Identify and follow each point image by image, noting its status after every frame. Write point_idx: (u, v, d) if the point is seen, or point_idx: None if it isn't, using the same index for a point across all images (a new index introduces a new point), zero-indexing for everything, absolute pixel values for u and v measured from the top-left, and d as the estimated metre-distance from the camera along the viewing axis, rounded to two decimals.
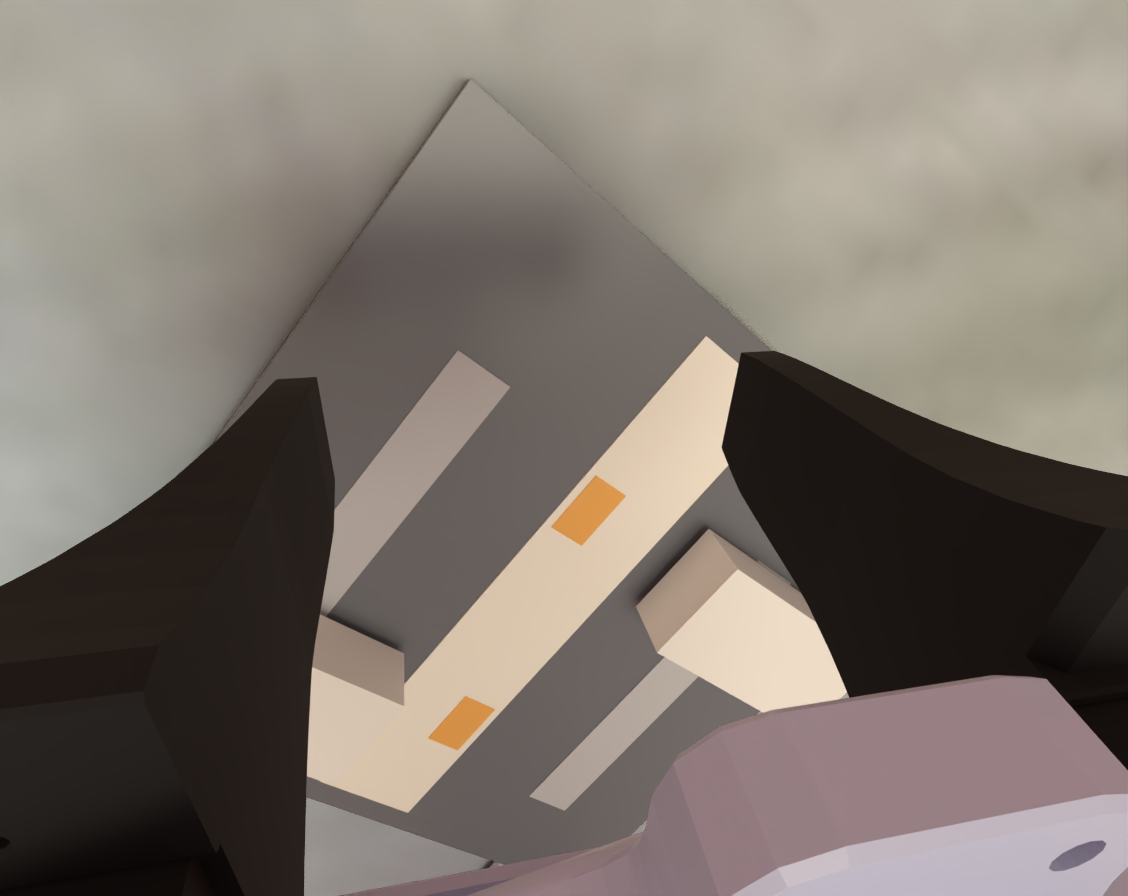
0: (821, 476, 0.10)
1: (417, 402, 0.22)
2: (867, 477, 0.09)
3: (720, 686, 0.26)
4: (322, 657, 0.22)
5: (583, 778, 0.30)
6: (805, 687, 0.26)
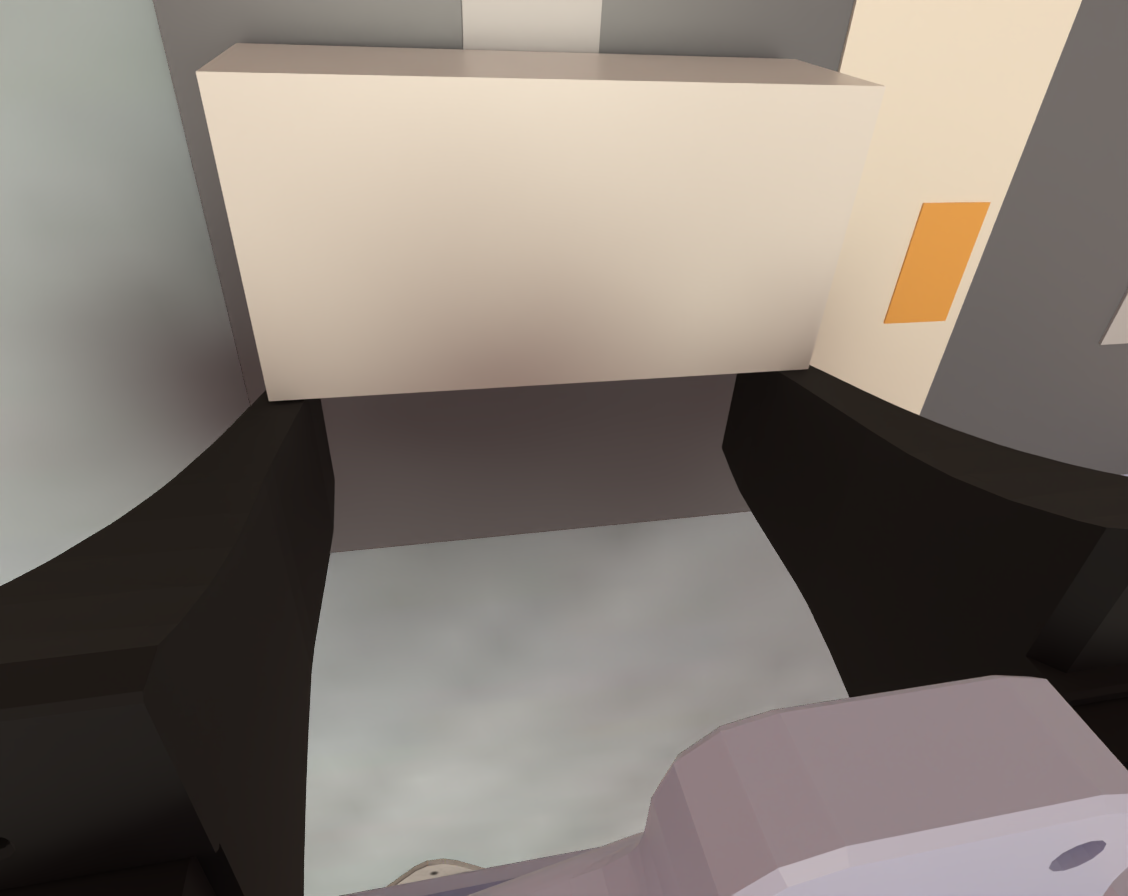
0: (821, 476, 0.10)
1: None
2: (867, 477, 0.09)
3: None
4: (639, 73, 0.09)
5: None
6: None
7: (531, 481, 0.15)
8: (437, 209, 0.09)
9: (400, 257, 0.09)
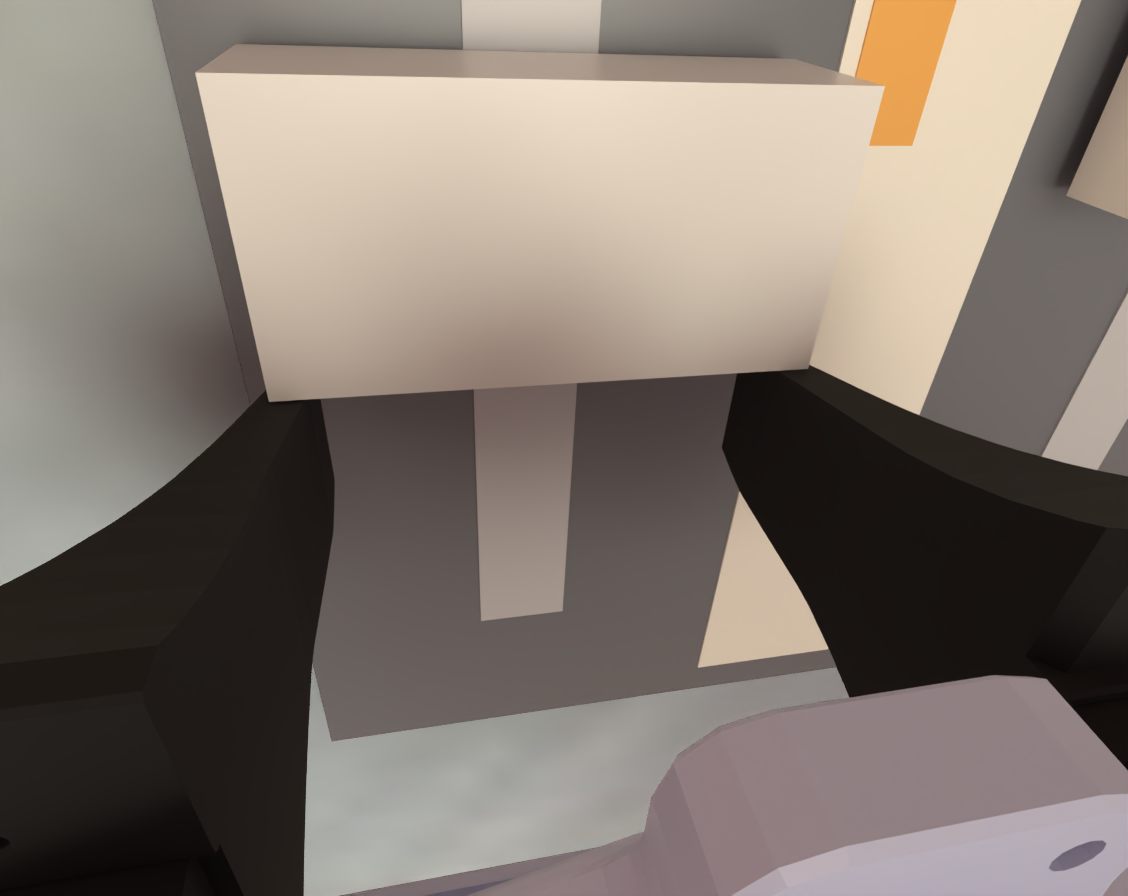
0: (821, 476, 0.10)
1: None
2: (867, 477, 0.09)
3: None
4: (638, 74, 0.09)
5: None
6: None
7: (526, 679, 0.19)
8: (436, 209, 0.09)
9: (400, 258, 0.09)
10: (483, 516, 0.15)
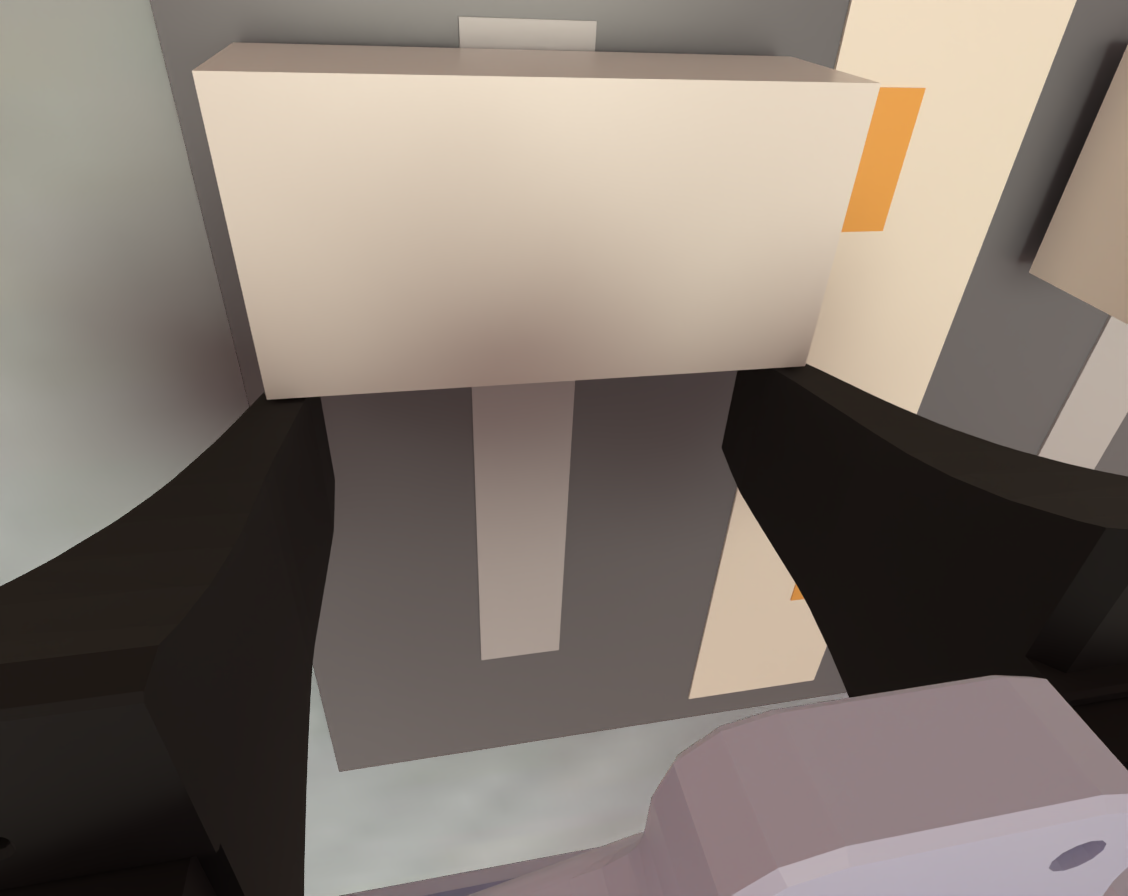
0: (821, 476, 0.10)
1: None
2: (867, 477, 0.09)
3: None
4: (634, 71, 0.09)
5: None
6: None
7: (525, 712, 0.20)
8: (433, 206, 0.09)
9: (396, 255, 0.09)
10: (483, 566, 0.16)
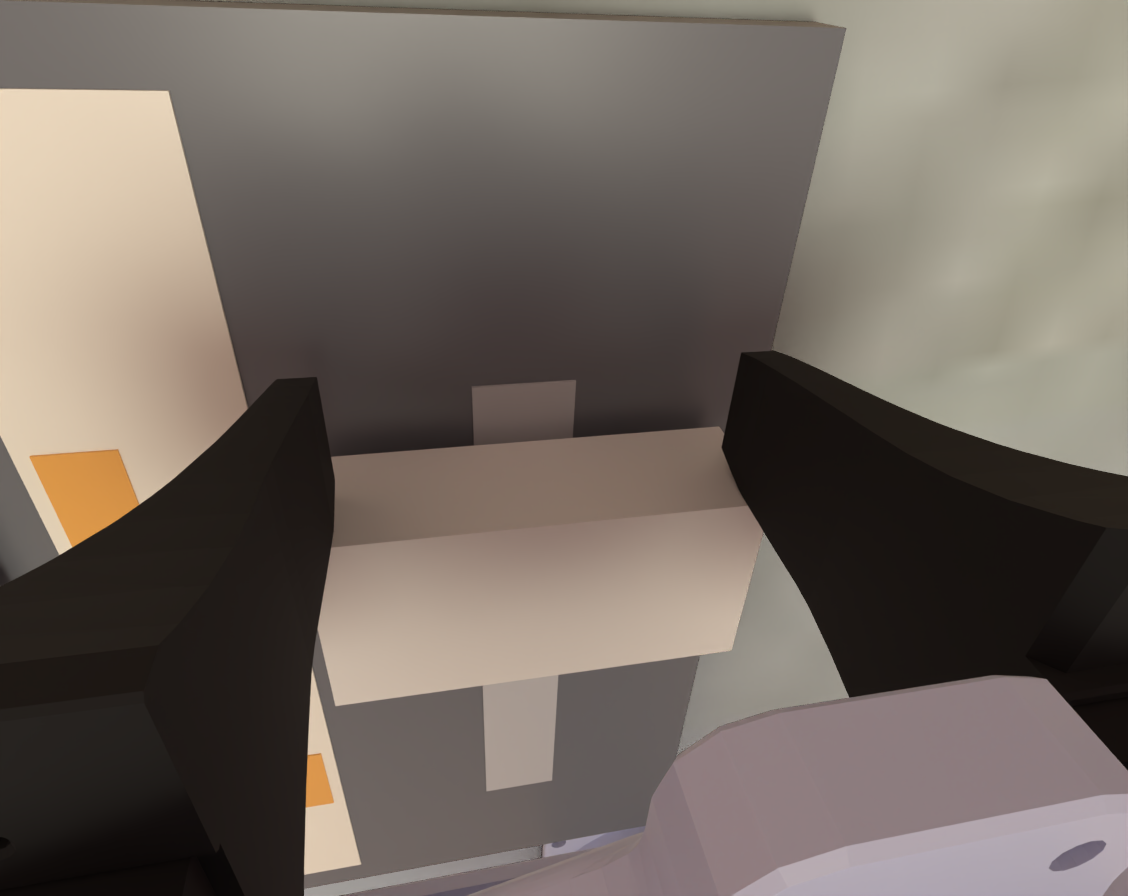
0: (821, 476, 0.10)
1: None
2: (867, 477, 0.09)
3: (502, 680, 0.14)
4: None
5: (537, 746, 0.21)
6: (661, 604, 0.14)
7: None
8: None
9: None
10: None
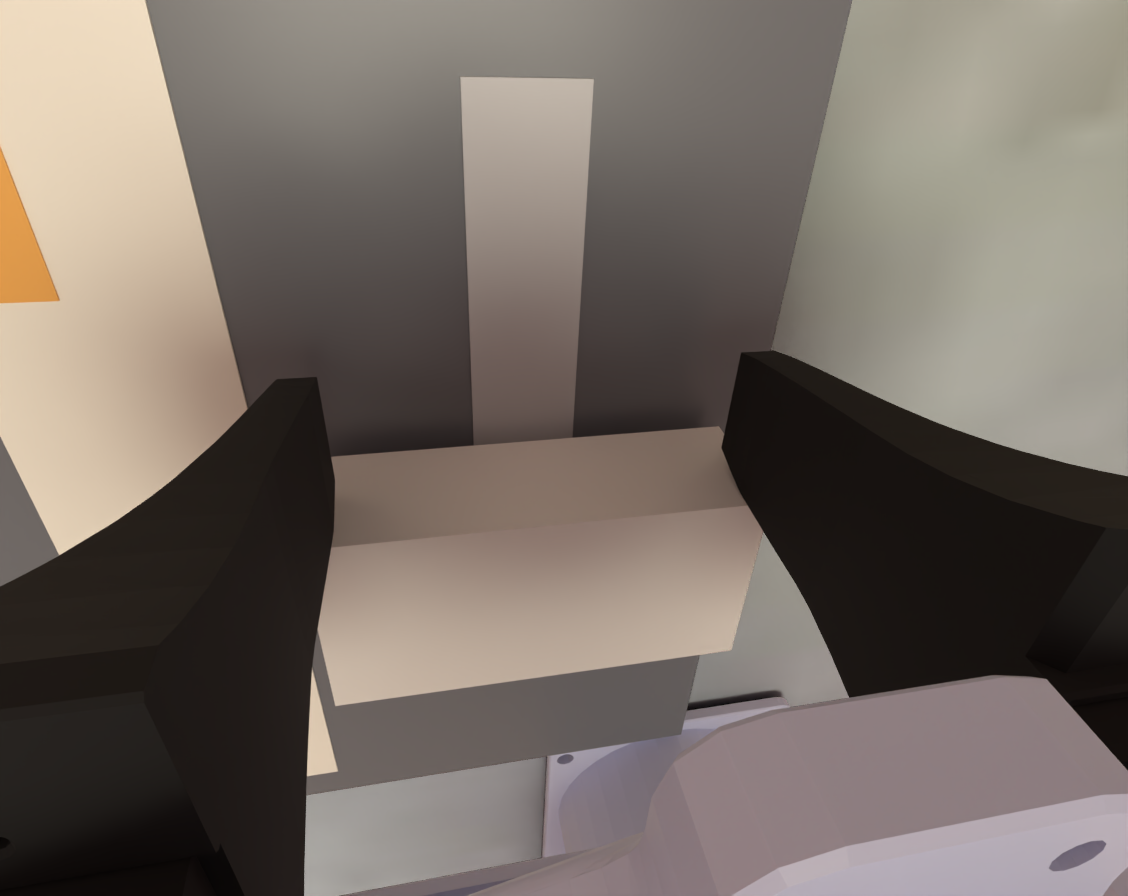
0: (821, 476, 0.10)
1: None
2: (867, 477, 0.09)
3: (502, 680, 0.14)
4: None
5: None
6: (661, 603, 0.14)
7: None
8: None
9: None
10: None
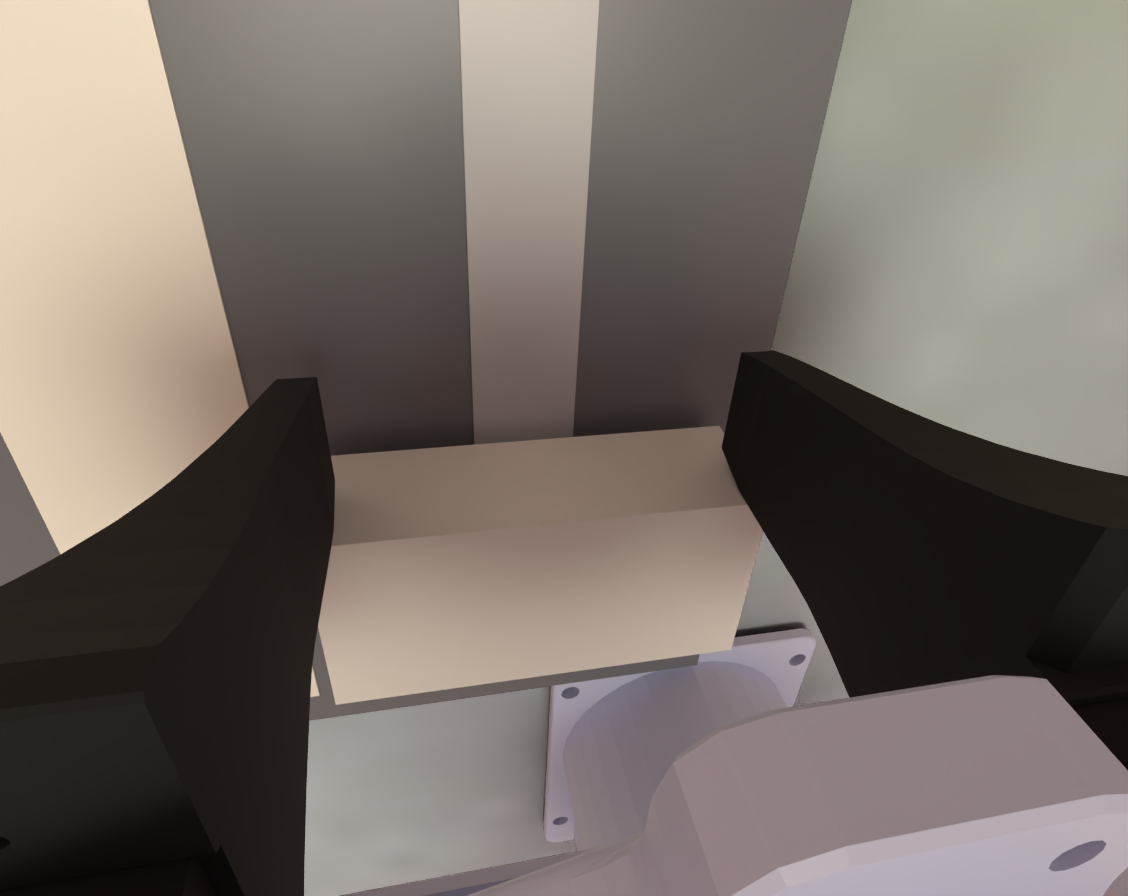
0: (821, 475, 0.10)
1: None
2: (867, 477, 0.09)
3: (503, 679, 0.14)
4: None
5: None
6: (661, 602, 0.14)
7: None
8: None
9: None
10: None
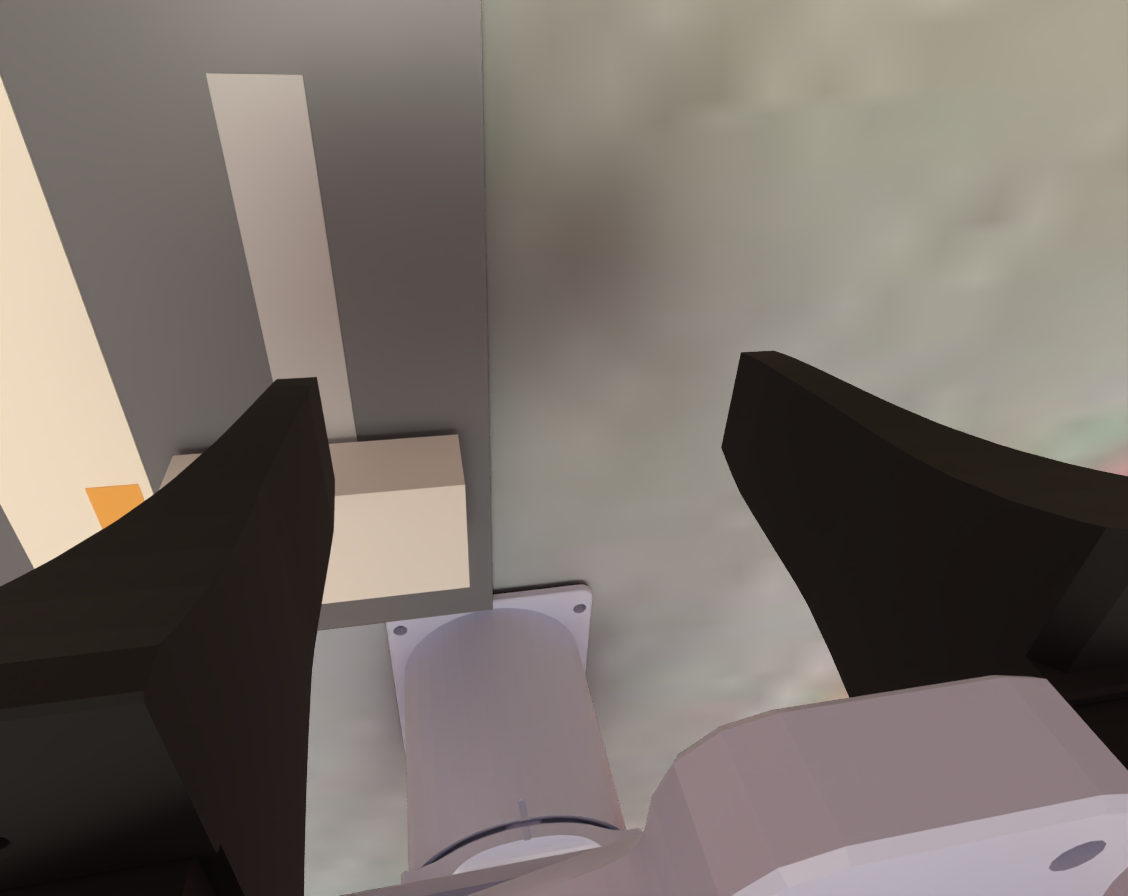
0: (821, 476, 0.10)
1: None
2: (867, 477, 0.09)
3: None
4: None
5: None
6: (407, 552, 0.21)
7: None
8: None
9: None
10: None
